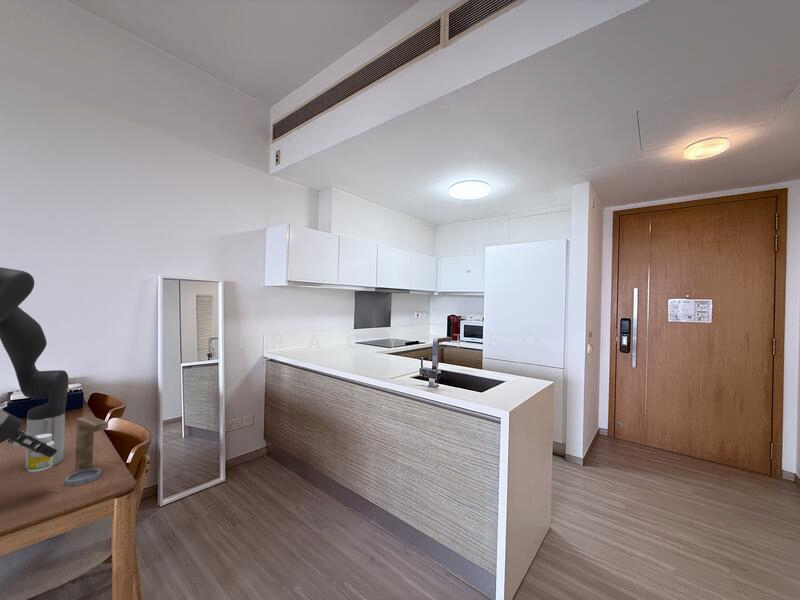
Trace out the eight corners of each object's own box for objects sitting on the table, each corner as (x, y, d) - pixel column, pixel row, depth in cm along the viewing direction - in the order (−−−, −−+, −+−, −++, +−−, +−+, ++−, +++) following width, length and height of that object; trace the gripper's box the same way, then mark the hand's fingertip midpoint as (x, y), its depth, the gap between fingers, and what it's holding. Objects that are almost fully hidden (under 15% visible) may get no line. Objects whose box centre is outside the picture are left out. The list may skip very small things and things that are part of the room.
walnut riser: (92, 480, 107) (94, 425, 107) (75, 470, 113) (77, 418, 113) (106, 475, 110) (108, 422, 110) (88, 466, 116) (90, 415, 116)
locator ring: (69, 476, 109) (69, 472, 109) (102, 470, 113) (103, 465, 113) (61, 488, 102) (61, 484, 102) (97, 481, 106) (97, 476, 106)
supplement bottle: (43, 471, 96) (45, 438, 97) (21, 473, 95) (23, 439, 96) (58, 463, 102) (60, 432, 102) (37, 464, 101) (39, 433, 101)
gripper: (16, 416, 89) (72, 444, 100) (-3, 408, 96) (52, 435, 106) (-16, 442, 84) (46, 469, 95) (-33, 432, 91) (27, 458, 101)
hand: (49, 451), depth 100 cm, fingers closed on supplement bottle, 5 cm apart
